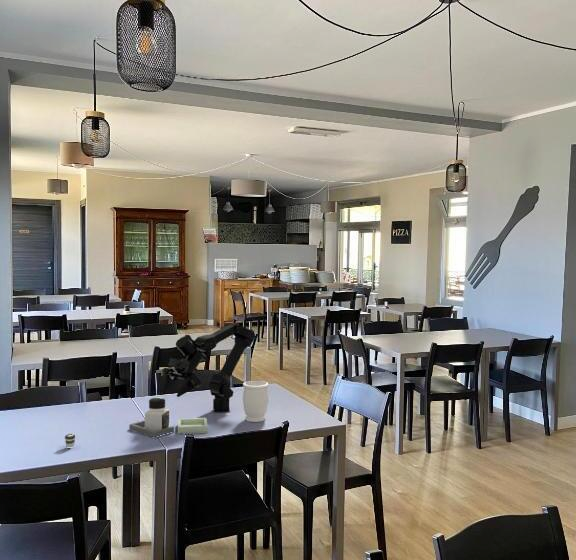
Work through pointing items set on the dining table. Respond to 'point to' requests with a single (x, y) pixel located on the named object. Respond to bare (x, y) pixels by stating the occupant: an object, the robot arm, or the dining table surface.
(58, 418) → the dining table surface
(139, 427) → the holder
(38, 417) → the dining table surface
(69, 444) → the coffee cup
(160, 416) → the medicine bottle
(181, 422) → the tray
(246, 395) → the jar
